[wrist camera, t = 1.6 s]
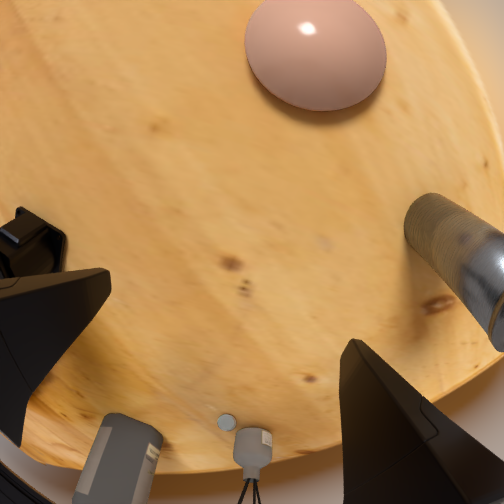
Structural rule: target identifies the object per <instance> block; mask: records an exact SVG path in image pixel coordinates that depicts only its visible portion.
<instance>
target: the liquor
mask: <svg viewBox="0 0 504 504" xmlns="http://www.w3.org/2000/svg"><path fill="white" fill-rule="evenodd" d="M162 443H163V437H162V434H160V433H159V432H158V431H157V430H156V429H155V428H153V427H152V426H150V425H148V424H145V423H142V422H140V421H137V420H135V419H132V418H130V417H127V416H125V415H123V414H108V415H106V416H105V417H104V419H103V421H102V424H101V426H100V428H99V431H98V433H97V435H96V438H95V440H94V443H93V445H92V448H91V450H90V453H89V455H88V458H87V460H86V463H85V466H84V468H83V471H82V473H81V476H80V479H79V482H78V485H77V487H76V490H75V493H74V496H73V498H72V504H147V502H148V497H149V493H150V489H151V485H152V481H153V477H154V473H155V469H156V465H157V462H158V458H159V454H160V450H161V446H162Z"/></svg>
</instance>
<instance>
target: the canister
mask: <svg viewBox="0 0 504 504" xmlns="http://www.w3.org/2000/svg"><path fill="white" fill-rule="evenodd" d="M404 232H405V236H406V239H407V241H408V243H409V244H410V245H411V246H412V247H413V248H414V249H415V250H416V251H417V252H418V253H419V254H420V255H421V256H422V257H423V259H424V260H425V261H426V262H427V263H428V264H429V265H430V266H431V267H432V268H433V269H434V270H435V272H436V273H437V274H438V275H439V276H440V277H441V278H442V279H443V280H444V282H445V283H446V284H447V285H448V286H449V287H450V288H451V290H452V291H453V292H454V293H455V294H456V296H457V297H458V298H459V299H460V300H461V301H462V303H463V304H464V305H465V306H466V308H467V309H468V310H469V311H470V313H471V314H472V315H473V316H474V318H475V319H476V320H477V321H478V323H479V324H480V325H481V327H482V328H483V329H484V331H485V332H486V333H487V335H488V338H489V340H490V342H491V343H492V345H493V346H494V348H495V349H496V350H497V351H499V352H504V234H503V233H502V232H501V231H499V230H498V229H496V228H495V227H493V226H492V225H490V224H489V223H487V222H485V221H484V220H482V219H481V218H479V217H478V216H476V215H474V214H473V213H471V212H469V211H468V210H466V209H464V208H463V207H461V206H459V205H458V204H456V203H454V202H452V201H451V200H449V199H447V198H445V197H443V196H442V195H440V194H437V193H428V194H425V195H423V196H421V197H419V198H418V199H417V200H415V201H414V203H413V204H412V205H411V206H410V208H409V210H408V212H407V214H406V217H405V222H404Z"/></svg>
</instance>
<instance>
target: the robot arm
mask: <svg viewBox="0 0 504 504" xmlns="http://www.w3.org/2000/svg"><path fill="white" fill-rule="evenodd" d="M59 236H60V237H61V238H60V237H59ZM64 243H65V234H64V233H63V232H62V231H61V230H59V229H58V228H56V227H54V226H52V225H51V224H49V223H47V222H46V221H44V220H43V219H41V218H39V217H38V216H36V215H35V214H33V213H31V212H30V211H28V210H26V209H25V208H23V207H21V206H20V207H18V208H17V209H16V214H15V219H13V220H12V221H10V222H8V223H7V224H5V225H3V226H2V227H0V432H1V433H2V434H3V435H4V436H6V437H7V438H8V439H9V440H10V441H11V442H12V443H14V444H15V445H16V446H17V447H18V448H20V446H21V441H22V433H23V426H24V419H25V413H26V408H27V403H28V400H29V398H30V396H31V395H32V393H33V392H34V391H35V389H36V388H37V387H38V385H39V384H40V383H41V382H42V380H43V379H44V378H45V376H46V375H47V374H48V373H49V371H50V370H51V369H52V368H53V366H54V365H55V364H56V363H57V361H58V360H59V359H60V358H61V356H62V355H63V354H64V353H65V351H66V350H67V349H68V348H69V347H70V345H71V344H72V343H73V342H74V341H75V339H76V338H77V337H78V336H79V335H80V334H81V332H82V331H83V330H84V329H85V328H86V327H87V325H88V324H89V323H90V322H91V321H92V319H93V318H94V317H95V315H96V314H97V312H98V311H99V310H100V308H101V307H102V305H103V304H104V302H105V301H106V300H107V298H108V297H109V295H110V293H111V277H110V272H109V271H108V270H106V269H104V268H92V269H84V270H76V271H68V272H61V266H62V258H63V250H64ZM339 400H340V414H341V429H342V445H343V476H344V500H343V504H504V461H503V460H501V459H500V458H499V457H497V456H496V455H495V454H493V453H492V452H491V451H490V450H489V449H487V448H486V447H485V446H483V445H482V444H481V443H480V442H478V441H477V440H476V439H475V438H473V437H472V436H471V435H469V434H468V433H467V432H466V431H464V430H463V429H462V428H461V427H459V426H458V425H457V424H456V423H454V422H453V421H452V420H450V419H449V418H448V417H447V416H446V415H444V414H443V413H442V412H441V411H439V410H438V409H437V408H436V407H435V406H434V405H433V404H432V403H430V402H429V401H428V400H427V399H426V398H425V397H424V396H422V395H421V394H420V393H419V392H418V391H417V390H416V389H415V388H414V387H412V386H411V385H410V384H409V383H408V382H407V381H406V380H405V379H404V378H403V377H402V376H400V375H399V374H398V373H397V372H396V371H395V370H394V369H393V368H392V367H391V366H390V365H388V364H387V363H386V362H385V361H384V360H383V359H382V358H381V357H380V356H379V355H378V354H376V353H375V352H374V351H373V350H372V349H371V348H370V347H369V346H368V345H367V344H365V343H364V342H363V341H362V340H359V339H354V338H352V339H351V340H350V341H349V342H348V344H347V346H346V348H345V349H344V351H343V353H342V355H341V359H340V379H339ZM0 504H56V503H55V502H53V501H51V500H50V499H49V498H47V497H46V496H44V495H43V494H41V493H40V492H38V491H37V490H36V489H35V488H33V487H32V486H30V485H29V484H28V483H27V482H25V481H24V480H23V479H22V478H20V477H19V476H18V475H17V474H15V473H14V472H13V471H12V470H11V469H9V468H8V467H7V466H6V465H5V464H4V463H3V462H2V461H1V460H0Z"/></svg>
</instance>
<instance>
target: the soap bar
mask: <svg viewBox="0 0 504 504" xmlns="http://www.w3.org/2000/svg"><path fill="white" fill-rule="evenodd" d="M245 50H246V54H247V58H248V61H249V64H250V66H251V69H252V71H253V73H254V74H255V76H256V77H257V79H258V80H259V81H260V83H261V84H262V85H263V86H264V87H265V88H266V89H267V90H268V91H269V92H271V93H272V94H273V95H274V96H276V97H277V98H279V99H281V100H282V101H284V102H286V103H288V104H291V105H293V106H296V107H299V108H302V109H307V110H313V111H331V110H338V109H343V108H347V107H350V106H352V105H355V104H357V103H359V102H361V101H362V100H364V99H365V98H366V97H368V96H369V95H370V94H371V93H372V92H373V91H374V90H375V89H376V87H377V86H378V84H379V83H380V81H381V79H382V77H383V75H384V71H385V68H386V60H387V57H386V46H385V42H384V39H383V36H382V34H381V31H380V29H379V27H378V26H377V24H376V23H375V21H374V20H373V18H372V17H371V16H370V15H369V14H368V13H367V12H366V11H365V10H364V9H363V8H362V7H361V6H360V5H358V4H357V3H356V2H354V1H353V0H265V1H264V2H263V3H262V4H260V5H259V6H258V7H257V9H256V10H255V11H254V13H253V14H252V16H251V18H250V20H249V22H248V25H247V28H246V33H245Z"/></svg>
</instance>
